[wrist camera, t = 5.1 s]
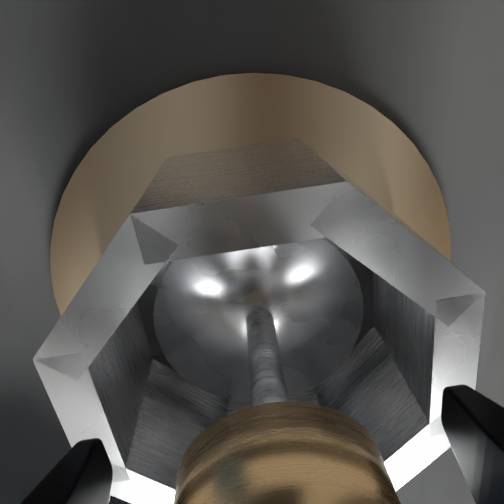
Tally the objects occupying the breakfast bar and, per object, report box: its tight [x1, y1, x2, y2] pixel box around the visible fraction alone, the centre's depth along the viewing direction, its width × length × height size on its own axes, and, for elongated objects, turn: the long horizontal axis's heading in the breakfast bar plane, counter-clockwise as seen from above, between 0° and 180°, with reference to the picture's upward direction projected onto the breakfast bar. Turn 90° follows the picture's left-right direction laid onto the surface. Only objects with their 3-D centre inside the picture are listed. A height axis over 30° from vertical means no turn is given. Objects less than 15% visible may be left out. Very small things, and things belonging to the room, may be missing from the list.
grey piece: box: [33, 137, 486, 504], centre depth 12 cm, size 9×12×5 cm
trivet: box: [50, 73, 451, 316], centre depth 14 cm, size 13×13×1 cm
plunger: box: [153, 238, 401, 504], centre depth 9 cm, size 6×6×7 cm
